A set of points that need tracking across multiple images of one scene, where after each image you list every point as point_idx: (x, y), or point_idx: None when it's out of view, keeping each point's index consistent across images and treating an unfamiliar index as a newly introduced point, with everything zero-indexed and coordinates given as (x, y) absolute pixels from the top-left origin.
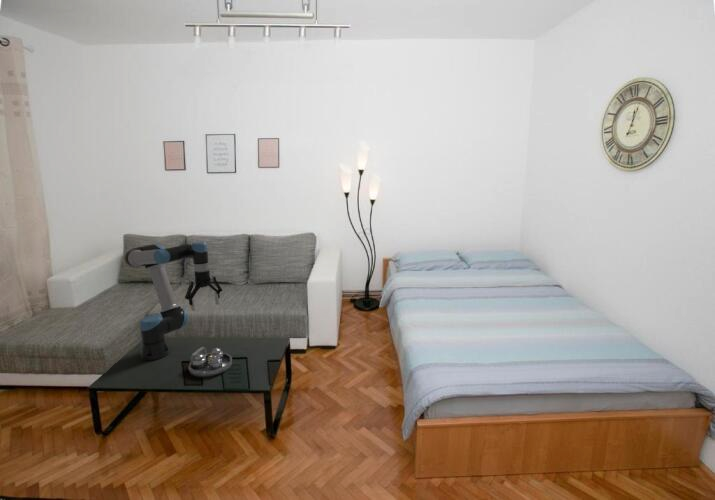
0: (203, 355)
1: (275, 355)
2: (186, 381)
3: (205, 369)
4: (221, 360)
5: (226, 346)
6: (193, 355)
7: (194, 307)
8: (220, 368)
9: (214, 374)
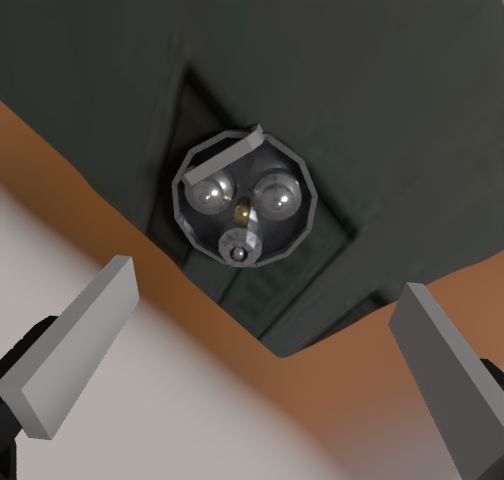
0: None
1: None
2: (155, 220)
3: (216, 220)
4: (257, 258)
5: (386, 87)
6: (188, 183)
7: (118, 329)
8: None
9: None
